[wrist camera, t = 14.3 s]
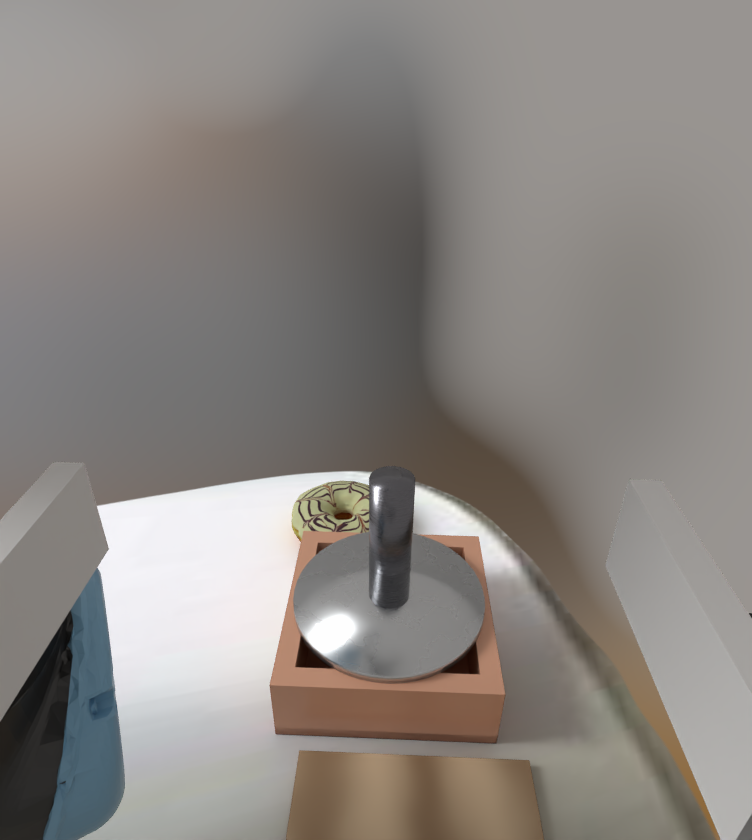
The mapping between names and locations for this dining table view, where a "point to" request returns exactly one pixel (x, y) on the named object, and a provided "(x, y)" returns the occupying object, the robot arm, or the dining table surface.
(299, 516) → the decorated donut
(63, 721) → the robot arm
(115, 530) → the dining table surface
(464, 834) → the trivet
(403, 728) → the terracotta square tray
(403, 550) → the lid
